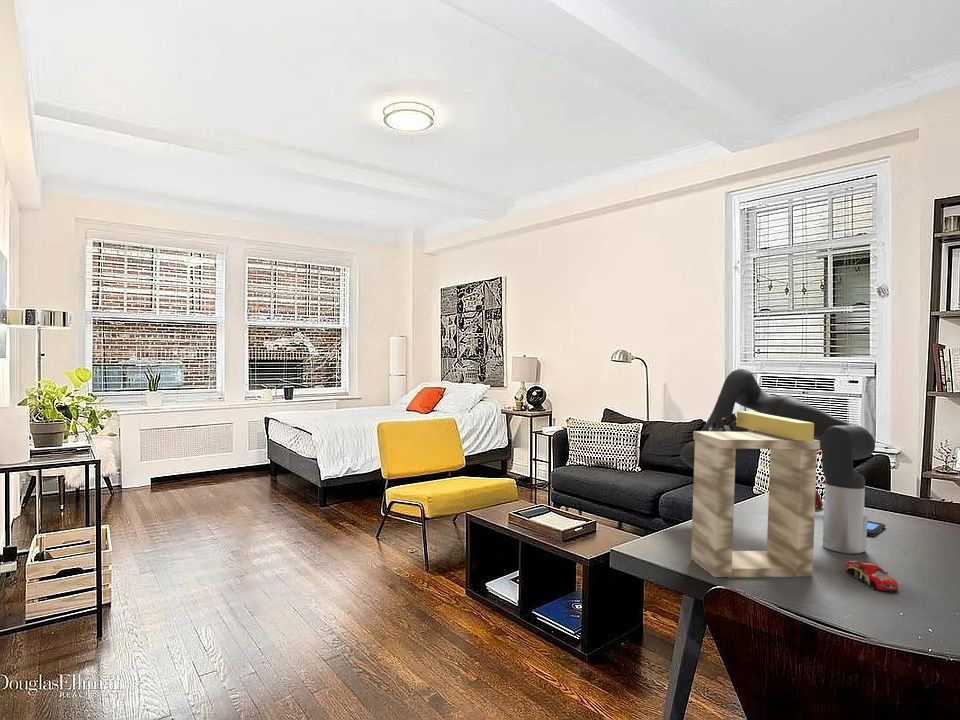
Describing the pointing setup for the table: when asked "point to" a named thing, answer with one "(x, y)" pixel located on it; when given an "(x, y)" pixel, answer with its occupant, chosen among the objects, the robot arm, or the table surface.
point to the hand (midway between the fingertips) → (749, 416)
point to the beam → (776, 425)
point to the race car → (871, 575)
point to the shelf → (785, 507)
